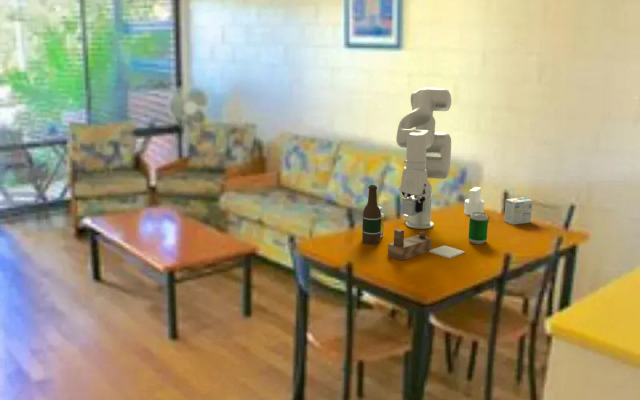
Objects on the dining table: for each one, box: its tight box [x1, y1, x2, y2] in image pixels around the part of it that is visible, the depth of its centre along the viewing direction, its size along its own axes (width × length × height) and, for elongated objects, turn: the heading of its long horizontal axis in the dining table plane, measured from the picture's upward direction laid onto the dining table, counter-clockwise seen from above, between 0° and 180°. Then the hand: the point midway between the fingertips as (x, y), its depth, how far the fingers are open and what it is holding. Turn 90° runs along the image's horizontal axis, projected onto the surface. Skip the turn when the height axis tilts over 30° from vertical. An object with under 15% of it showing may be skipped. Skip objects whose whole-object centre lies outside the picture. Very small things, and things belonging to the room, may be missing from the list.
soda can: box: [468, 212, 489, 245], centre depth 280 cm, size 8×8×12 cm
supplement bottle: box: [378, 205, 385, 239], centre depth 286 cm, size 7×7×13 cm
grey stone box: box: [401, 195, 426, 216], centre depth 262 cm, size 8×5×7 cm, turn 133°
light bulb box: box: [503, 196, 533, 225], centre depth 309 cm, size 11×7×11 cm, turn 114°
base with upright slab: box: [463, 186, 485, 216], centre depth 323 cm, size 9×9×12 cm
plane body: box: [387, 228, 433, 261], centre depth 265 cm, size 18×7×11 cm, turn 133°
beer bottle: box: [361, 184, 382, 245], centre depth 277 cm, size 8×8×24 cm
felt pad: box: [428, 245, 466, 259], centre depth 268 cm, size 10×10×1 cm
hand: (413, 209), depth 263 cm, fingers closed on grey stone box, 5 cm apart
